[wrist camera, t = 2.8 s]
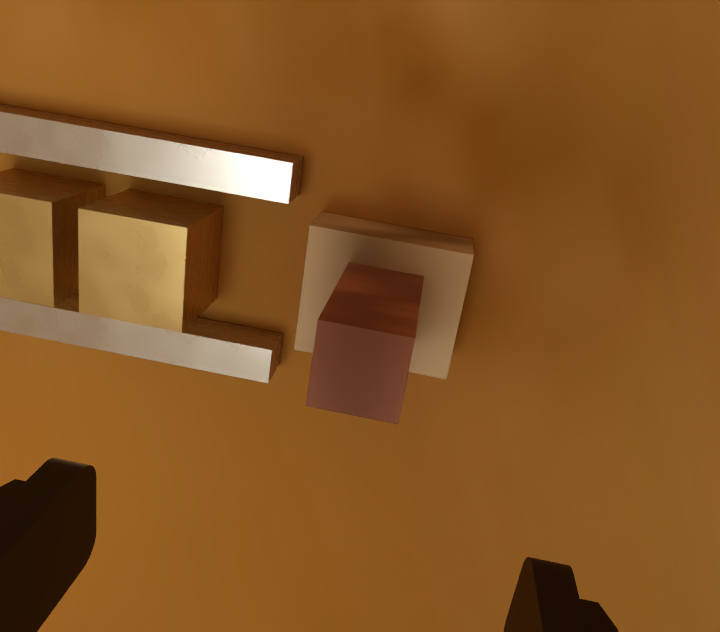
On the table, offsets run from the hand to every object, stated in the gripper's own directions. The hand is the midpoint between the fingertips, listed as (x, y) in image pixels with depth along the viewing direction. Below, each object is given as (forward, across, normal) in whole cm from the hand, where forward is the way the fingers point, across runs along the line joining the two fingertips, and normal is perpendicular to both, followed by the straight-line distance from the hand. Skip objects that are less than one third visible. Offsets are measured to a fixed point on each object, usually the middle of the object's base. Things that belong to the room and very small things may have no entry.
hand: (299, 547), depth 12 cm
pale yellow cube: (+16, +9, 0) cm, 18 cm away
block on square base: (+16, 0, 0) cm, 16 cm away
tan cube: (+16, +14, 0) cm, 21 cm away
